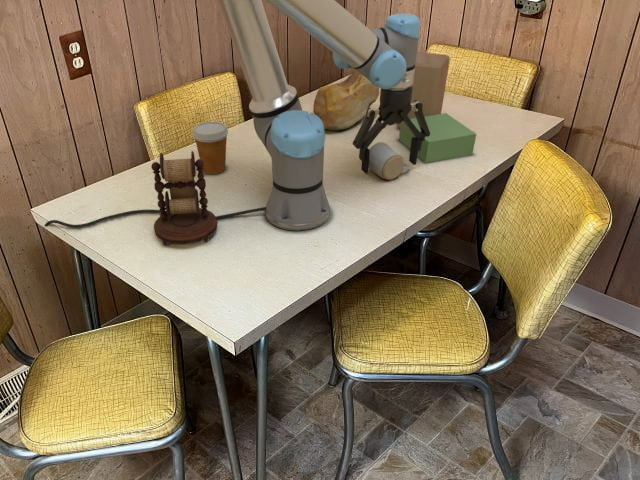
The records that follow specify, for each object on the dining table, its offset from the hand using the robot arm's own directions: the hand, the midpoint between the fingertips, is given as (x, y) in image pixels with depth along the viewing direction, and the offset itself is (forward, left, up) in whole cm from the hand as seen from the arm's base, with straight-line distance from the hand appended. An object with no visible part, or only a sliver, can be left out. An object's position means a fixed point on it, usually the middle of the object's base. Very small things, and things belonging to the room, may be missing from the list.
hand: (388, 167), depth 154 cm
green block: (+19, +10, -2) cm, 21 cm away
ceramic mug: (0, 0, -2) cm, 2 cm away
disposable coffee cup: (-43, +19, -2) cm, 47 cm away
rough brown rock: (+2, +39, -2) cm, 39 cm away
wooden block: (+22, +25, -2) cm, 33 cm away
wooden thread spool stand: (-56, -11, -2) cm, 57 cm away
